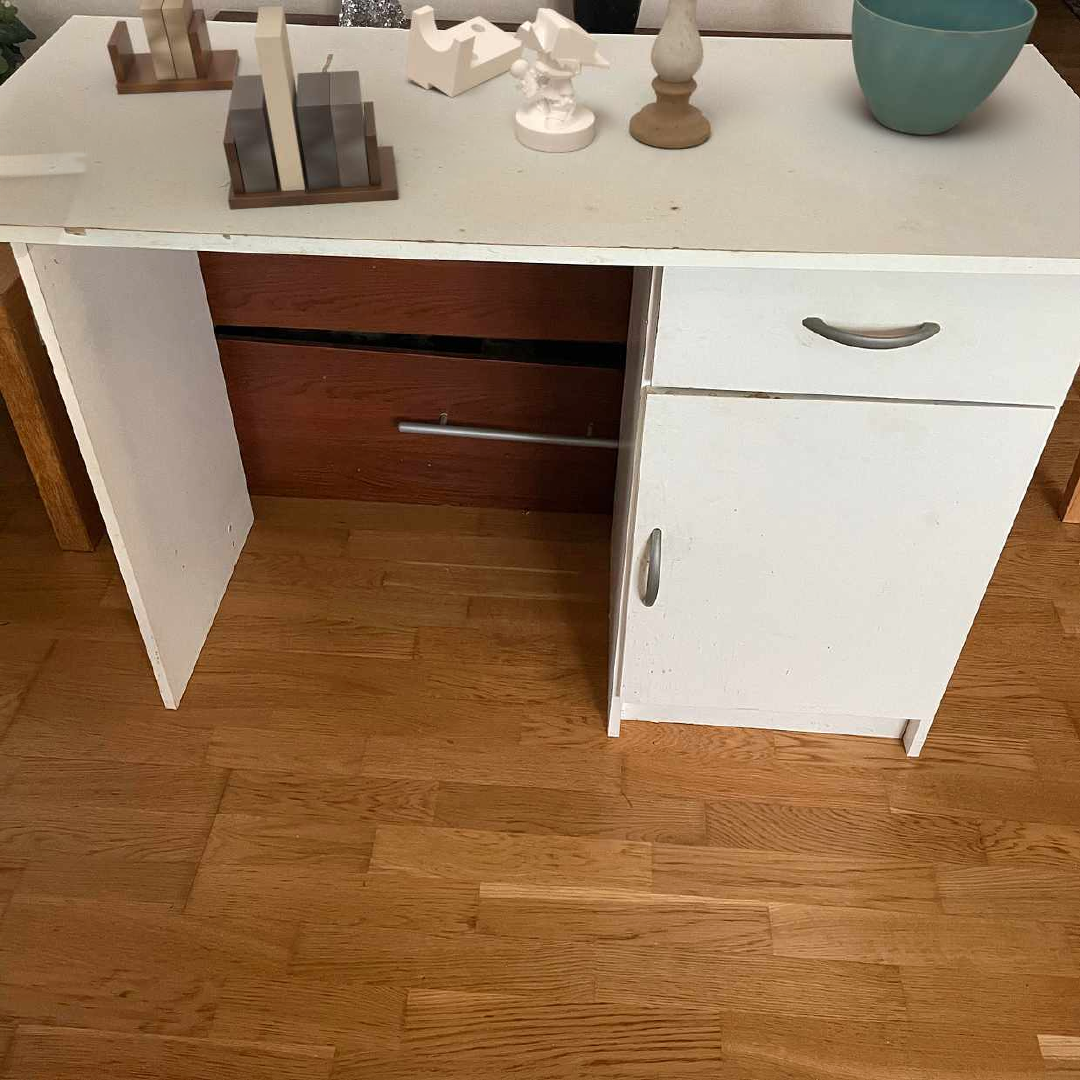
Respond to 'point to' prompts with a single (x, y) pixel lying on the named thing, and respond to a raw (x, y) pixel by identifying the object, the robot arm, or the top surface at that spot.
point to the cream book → (280, 95)
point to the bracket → (457, 53)
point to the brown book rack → (171, 52)
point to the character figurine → (554, 84)
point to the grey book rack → (308, 145)
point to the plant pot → (934, 57)
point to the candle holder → (674, 84)
